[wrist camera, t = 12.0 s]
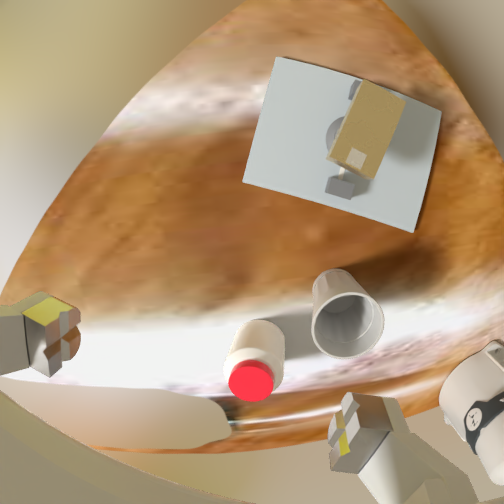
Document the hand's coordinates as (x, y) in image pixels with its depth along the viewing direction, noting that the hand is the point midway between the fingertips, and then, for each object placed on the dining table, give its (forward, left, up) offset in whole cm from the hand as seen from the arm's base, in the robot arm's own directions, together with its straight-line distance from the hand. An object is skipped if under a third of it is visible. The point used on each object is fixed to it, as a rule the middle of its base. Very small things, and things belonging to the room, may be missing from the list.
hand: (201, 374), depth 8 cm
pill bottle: (-3, +18, -35) cm, 40 cm away
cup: (-11, +7, -35) cm, 38 cm away
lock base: (-7, -13, -35) cm, 38 cm away
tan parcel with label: (-7, -13, -28) cm, 31 cm away
